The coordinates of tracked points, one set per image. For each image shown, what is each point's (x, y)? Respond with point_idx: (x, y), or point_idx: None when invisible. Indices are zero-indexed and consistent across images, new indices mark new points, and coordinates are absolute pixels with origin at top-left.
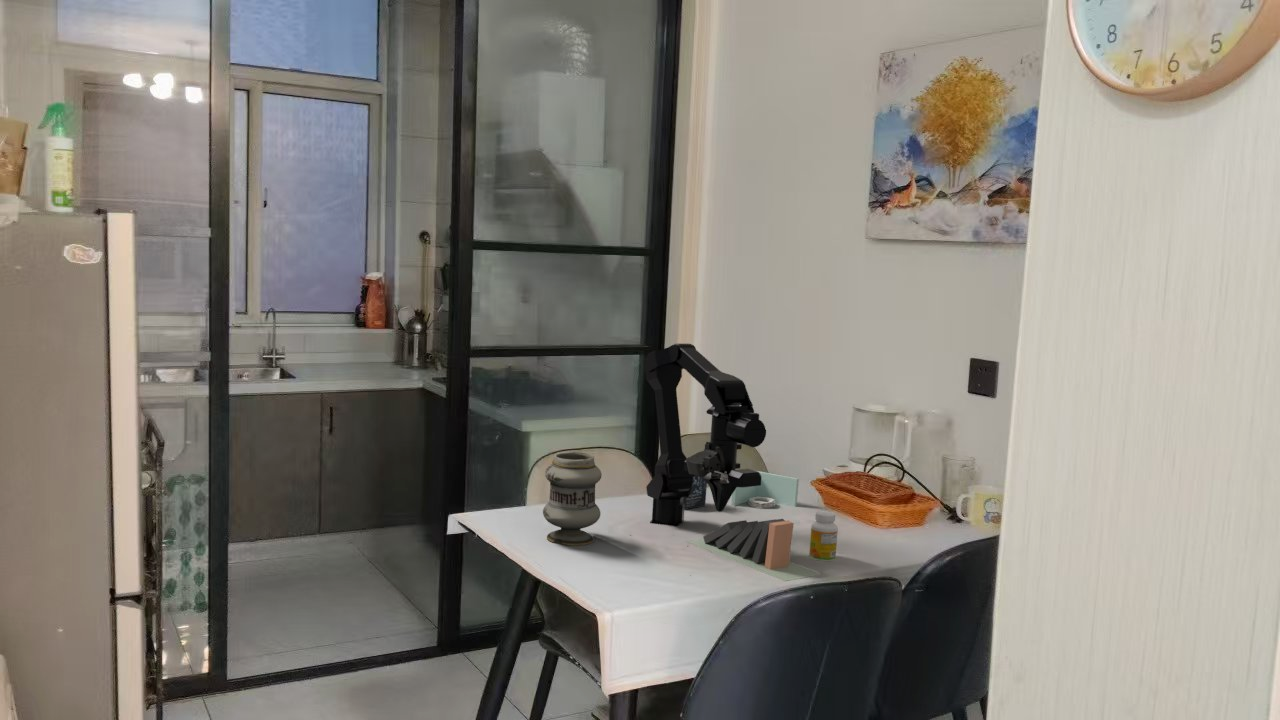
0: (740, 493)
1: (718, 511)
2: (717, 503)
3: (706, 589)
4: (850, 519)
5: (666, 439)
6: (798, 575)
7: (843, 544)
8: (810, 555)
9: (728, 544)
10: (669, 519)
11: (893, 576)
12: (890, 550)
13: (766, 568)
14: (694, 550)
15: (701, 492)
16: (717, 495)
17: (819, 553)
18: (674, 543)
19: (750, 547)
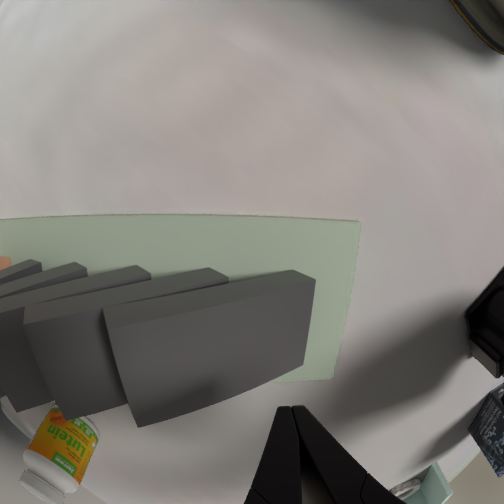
0: (434, 482)
1: (281, 406)
2: (293, 443)
3: (5, 31)
4: None
5: None
6: None
7: (160, 491)
8: None
9: None
10: (493, 310)
11: (2, 409)
12: (116, 494)
13: (3, 254)
14: (268, 185)
15: (484, 438)
16: (295, 496)
17: (48, 415)
18: (381, 184)
19: (24, 277)
